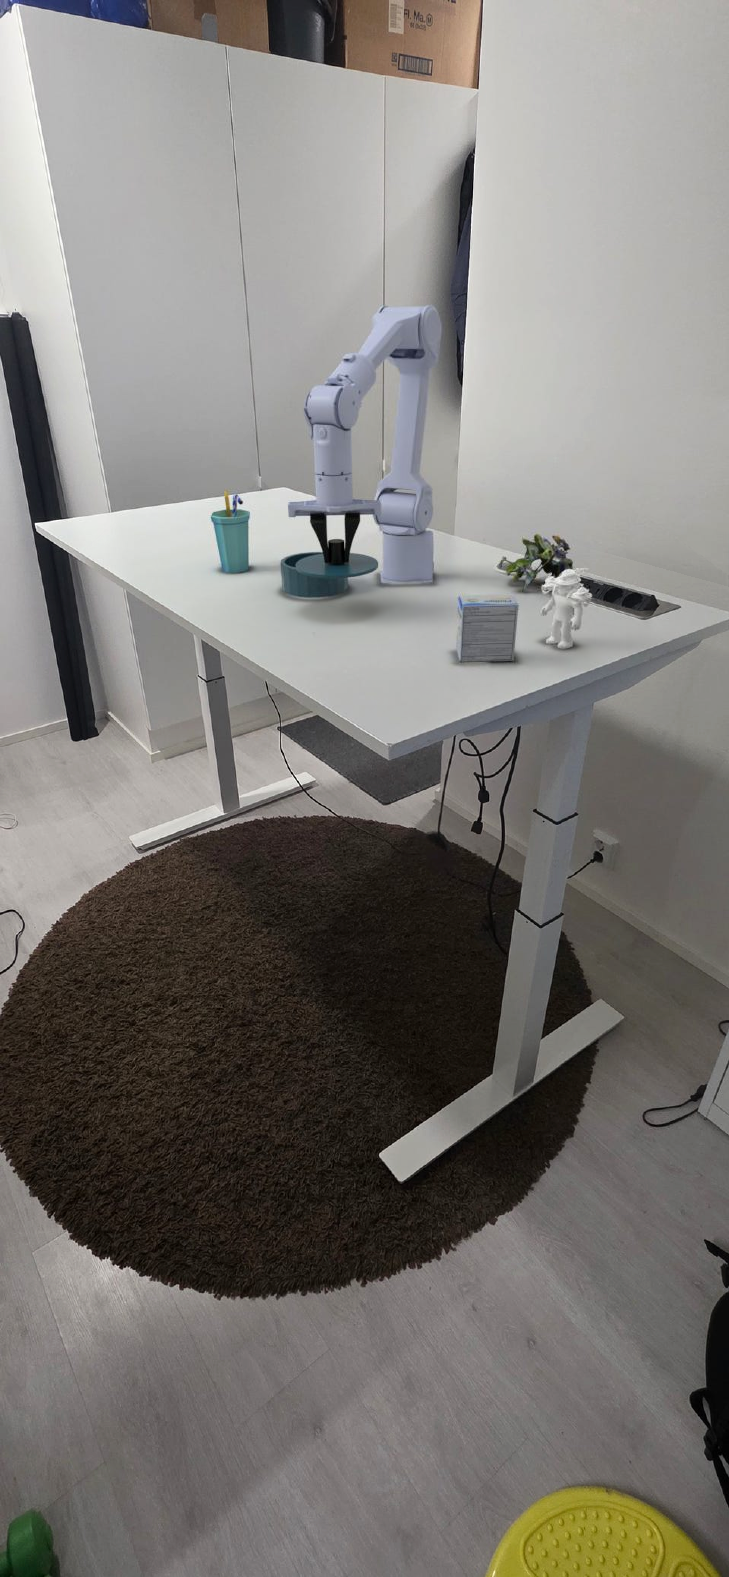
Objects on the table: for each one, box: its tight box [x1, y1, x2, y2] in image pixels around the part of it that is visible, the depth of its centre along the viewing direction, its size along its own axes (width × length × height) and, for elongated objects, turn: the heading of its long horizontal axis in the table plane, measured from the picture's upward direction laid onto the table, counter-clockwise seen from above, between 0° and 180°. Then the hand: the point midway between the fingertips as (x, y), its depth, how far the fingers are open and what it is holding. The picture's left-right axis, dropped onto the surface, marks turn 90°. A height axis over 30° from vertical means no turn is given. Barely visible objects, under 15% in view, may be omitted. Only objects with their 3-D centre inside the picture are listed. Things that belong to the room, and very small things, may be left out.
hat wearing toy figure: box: [540, 566, 593, 650], centre depth 119 cm, size 9×4×12 cm, turn 30°
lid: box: [296, 538, 379, 579], centre depth 131 cm, size 13×13×5 cm
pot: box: [280, 551, 349, 599], centre depth 146 cm, size 12×12×5 cm
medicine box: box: [455, 593, 520, 664], centre depth 115 cm, size 8×4×9 cm, turn 92°
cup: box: [210, 490, 251, 574], centre depth 155 cm, size 14×8×15 cm, turn 25°
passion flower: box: [498, 533, 575, 593], centre depth 144 cm, size 11×11×12 cm
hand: (336, 561), depth 131 cm, fingers closed on lid, 2 cm apart
